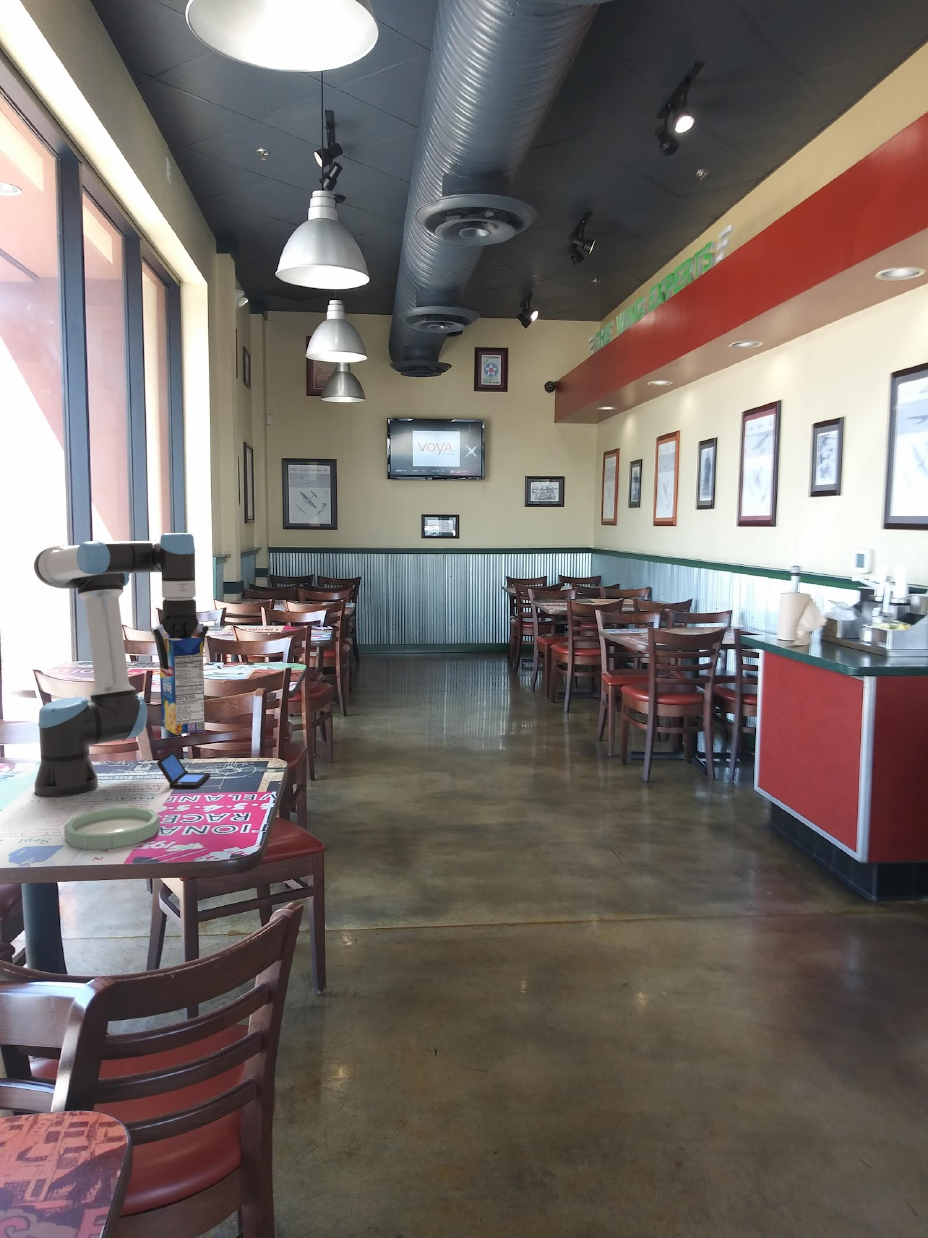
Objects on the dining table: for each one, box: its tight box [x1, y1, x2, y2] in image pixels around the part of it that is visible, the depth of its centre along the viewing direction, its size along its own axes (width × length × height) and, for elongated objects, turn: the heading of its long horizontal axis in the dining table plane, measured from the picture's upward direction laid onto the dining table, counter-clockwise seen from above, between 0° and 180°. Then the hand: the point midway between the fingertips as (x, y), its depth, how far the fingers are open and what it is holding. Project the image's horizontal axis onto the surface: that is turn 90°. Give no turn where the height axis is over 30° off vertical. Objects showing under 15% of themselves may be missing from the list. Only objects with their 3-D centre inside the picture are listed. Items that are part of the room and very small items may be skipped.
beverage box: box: [159, 634, 206, 736], centre depth 202 cm, size 7×11×22 cm, turn 36°
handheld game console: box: [156, 751, 211, 789], centre depth 230 cm, size 12×11×7 cm
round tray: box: [64, 806, 161, 850], centre depth 191 cm, size 19×19×3 cm
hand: (182, 697), depth 203 cm, fingers closed on beverage box, 2 cm apart
